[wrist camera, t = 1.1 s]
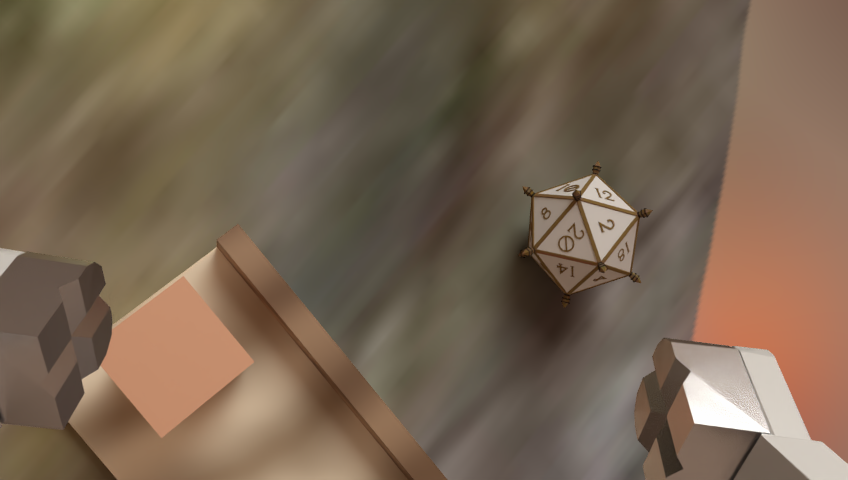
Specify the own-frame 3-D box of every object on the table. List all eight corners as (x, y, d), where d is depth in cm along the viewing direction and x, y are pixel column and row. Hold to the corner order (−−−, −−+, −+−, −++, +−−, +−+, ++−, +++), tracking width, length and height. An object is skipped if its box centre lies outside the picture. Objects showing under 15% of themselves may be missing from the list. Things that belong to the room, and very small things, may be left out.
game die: (539, 276, 56) (577, 355, 47) (477, 195, 52) (505, 265, 44) (642, 209, 54) (700, 278, 45) (584, 121, 51) (636, 178, 42)
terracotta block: (120, 351, 43) (86, 348, 32) (192, 296, 45) (183, 276, 33) (176, 417, 43) (161, 438, 32) (245, 360, 45) (254, 361, 33)
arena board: (39, 382, 43) (21, 384, 39) (236, 234, 47) (237, 224, 43) (282, 668, 44) (288, 698, 40) (453, 499, 48) (473, 511, 44)
